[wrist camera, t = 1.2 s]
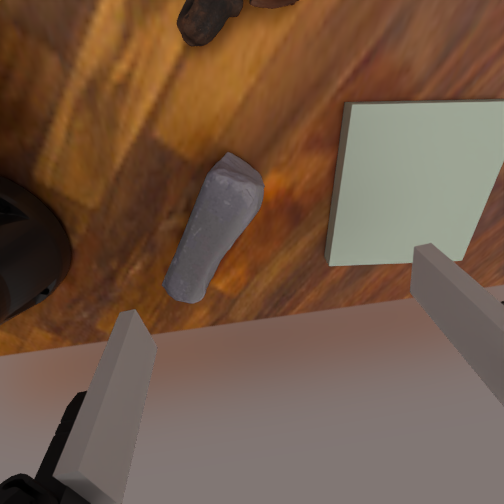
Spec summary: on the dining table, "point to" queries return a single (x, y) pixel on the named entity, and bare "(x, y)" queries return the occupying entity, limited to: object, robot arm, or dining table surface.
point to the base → (412, 178)
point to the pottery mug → (214, 17)
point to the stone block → (214, 226)
